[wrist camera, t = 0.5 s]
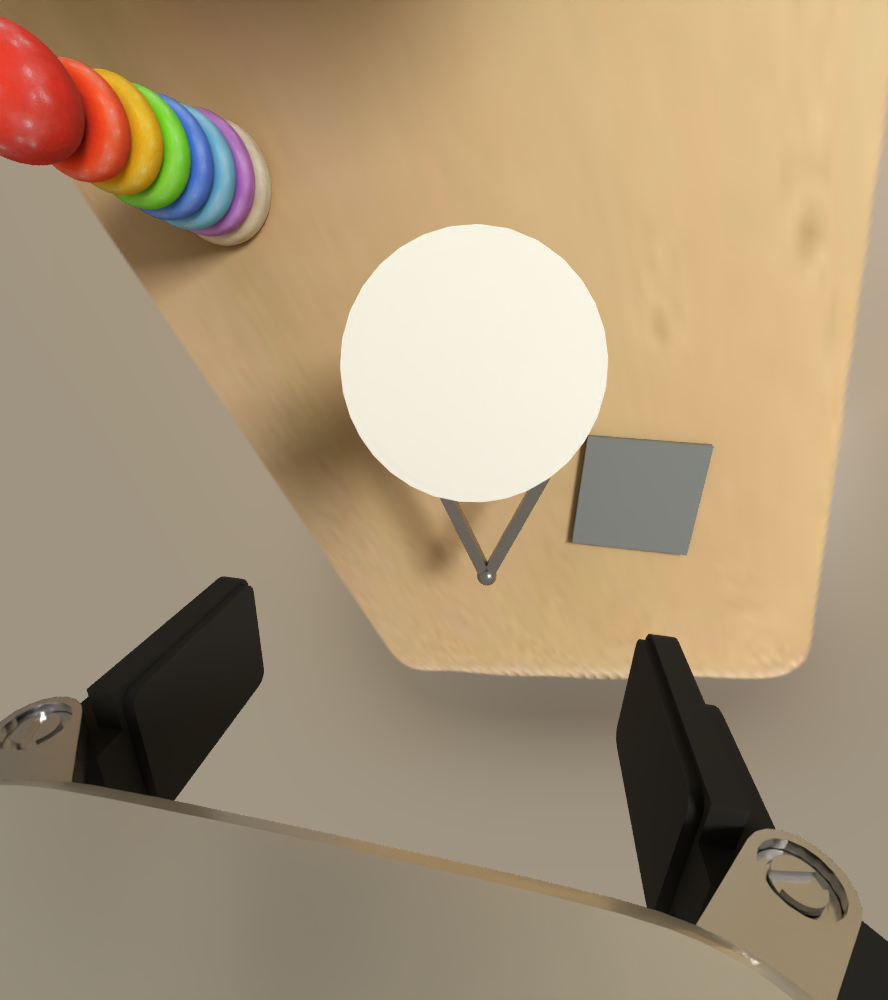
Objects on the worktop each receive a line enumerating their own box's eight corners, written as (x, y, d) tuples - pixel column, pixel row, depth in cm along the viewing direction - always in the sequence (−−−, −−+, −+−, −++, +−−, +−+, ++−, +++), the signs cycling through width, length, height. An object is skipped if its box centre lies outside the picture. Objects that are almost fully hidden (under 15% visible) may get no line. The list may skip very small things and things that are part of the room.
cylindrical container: (533, 271, 34) (529, 156, 11) (576, 362, 35) (652, 432, 12) (446, 324, 36) (291, 323, 13) (490, 407, 38) (421, 539, 15)
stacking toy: (185, 245, 38) (-112, 177, 20) (171, 122, 35) (-189, -79, 17) (279, 249, 36) (49, 181, 19) (272, 122, 34) (-6, -92, 16)
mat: (587, 434, 37) (588, 436, 37) (710, 444, 36) (713, 446, 35) (571, 539, 40) (572, 542, 40) (684, 552, 39) (686, 555, 38)
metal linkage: (406, 377, 38) (377, 389, 31) (587, 388, 36) (600, 404, 29) (404, 533, 43) (378, 575, 36) (563, 551, 41) (569, 599, 34)
